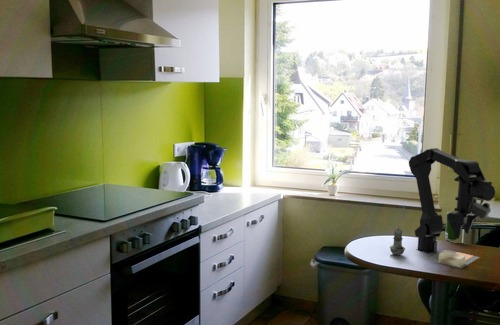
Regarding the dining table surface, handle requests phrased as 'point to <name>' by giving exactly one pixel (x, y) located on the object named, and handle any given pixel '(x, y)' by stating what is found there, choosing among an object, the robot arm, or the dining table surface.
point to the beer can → (449, 232)
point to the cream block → (451, 259)
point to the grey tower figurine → (397, 243)
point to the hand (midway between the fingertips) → (462, 235)
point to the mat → (467, 257)
